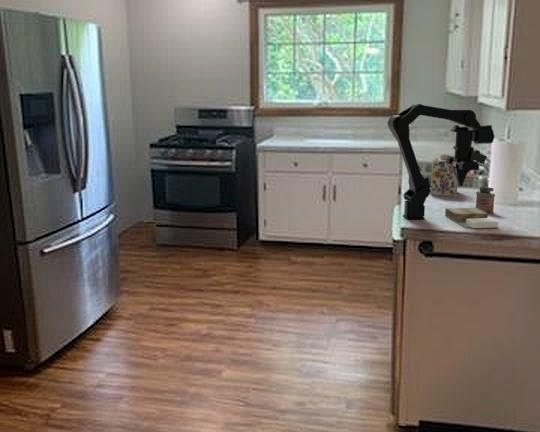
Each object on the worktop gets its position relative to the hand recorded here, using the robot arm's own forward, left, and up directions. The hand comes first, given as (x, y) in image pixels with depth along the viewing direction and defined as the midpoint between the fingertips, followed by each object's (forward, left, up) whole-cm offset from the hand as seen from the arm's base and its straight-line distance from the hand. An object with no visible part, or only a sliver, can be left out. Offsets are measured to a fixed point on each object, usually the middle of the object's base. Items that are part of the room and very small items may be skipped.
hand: (460, 185), depth 219 cm
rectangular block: (+2, -16, -10) cm, 19 cm away
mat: (+1, -13, -12) cm, 18 cm away
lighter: (+13, +8, -12) cm, 20 cm away
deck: (+1, -3, -12) cm, 12 cm away
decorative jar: (+11, +46, -12) cm, 49 cm away
